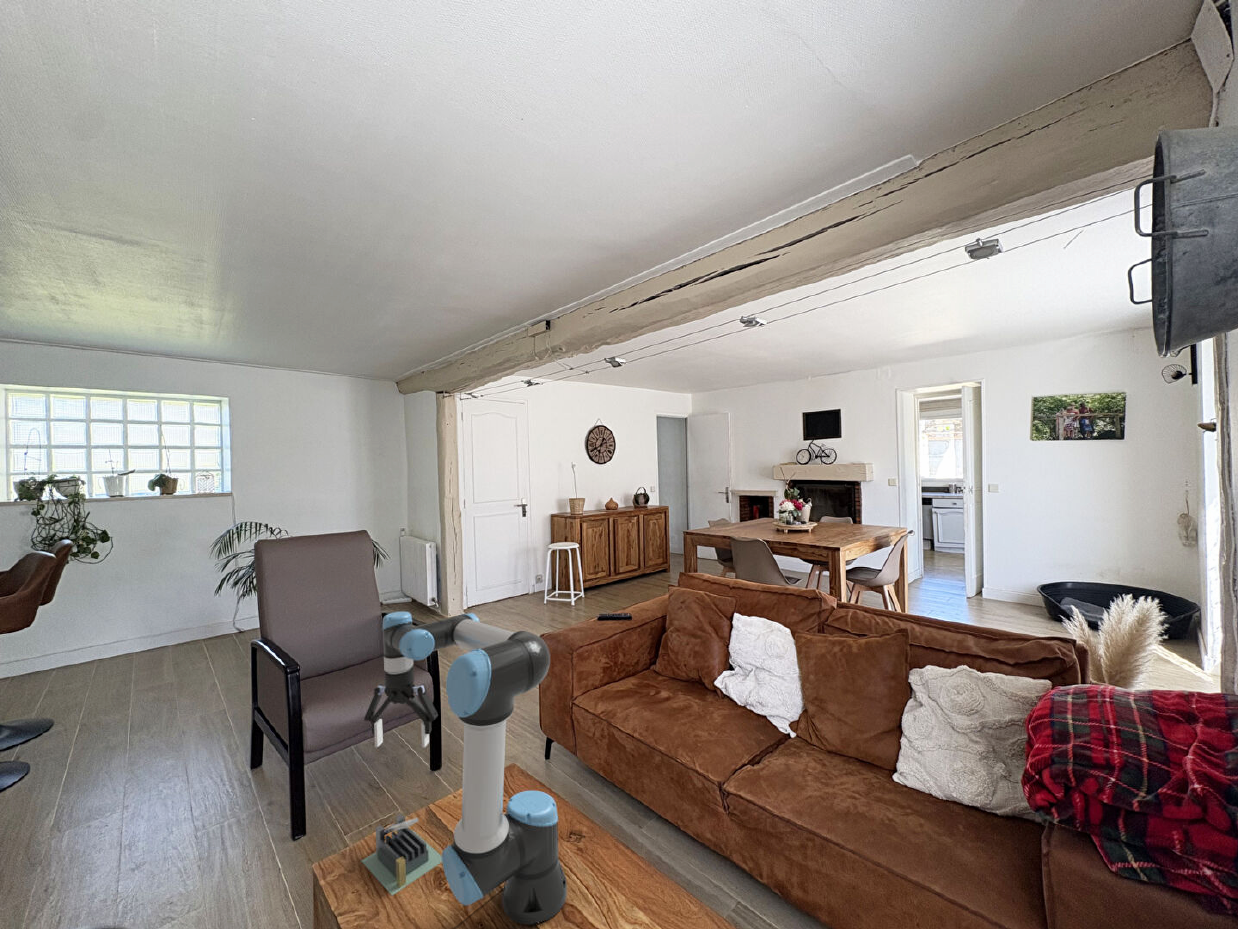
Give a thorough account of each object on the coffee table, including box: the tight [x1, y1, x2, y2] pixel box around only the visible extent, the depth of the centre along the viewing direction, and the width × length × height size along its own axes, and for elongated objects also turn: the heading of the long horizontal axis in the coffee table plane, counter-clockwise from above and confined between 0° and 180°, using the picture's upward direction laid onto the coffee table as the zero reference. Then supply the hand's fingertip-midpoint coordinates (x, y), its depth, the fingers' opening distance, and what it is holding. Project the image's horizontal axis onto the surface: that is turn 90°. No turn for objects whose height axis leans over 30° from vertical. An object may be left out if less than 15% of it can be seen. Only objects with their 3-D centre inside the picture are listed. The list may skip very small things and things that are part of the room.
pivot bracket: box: [375, 813, 406, 855], centre depth 137 cm, size 2×7×7 cm, turn 139°
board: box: [361, 829, 442, 896], centre depth 133 cm, size 17×14×1 cm
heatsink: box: [378, 827, 429, 878], centre depth 133 cm, size 11×8×5 cm
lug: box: [396, 857, 406, 888], centre depth 125 cm, size 2×2×6 cm
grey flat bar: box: [384, 817, 419, 836], centre depth 133 cm, size 15×4×1 cm, turn 49°
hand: (402, 745), depth 143 cm, fingers open, 13 cm apart
